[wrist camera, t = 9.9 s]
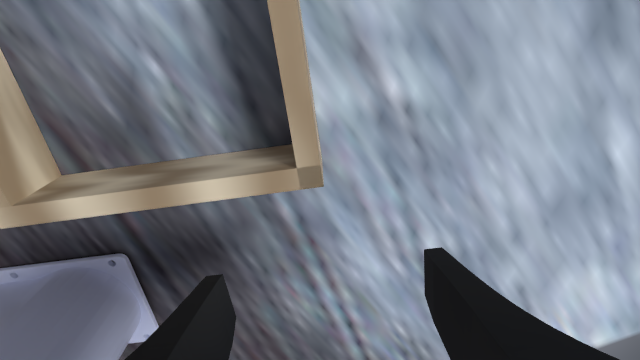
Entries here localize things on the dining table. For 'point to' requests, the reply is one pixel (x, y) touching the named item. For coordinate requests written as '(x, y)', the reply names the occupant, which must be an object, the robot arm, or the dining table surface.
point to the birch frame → (162, 177)
